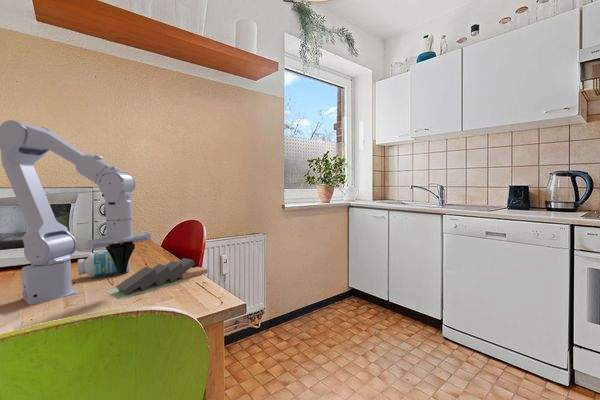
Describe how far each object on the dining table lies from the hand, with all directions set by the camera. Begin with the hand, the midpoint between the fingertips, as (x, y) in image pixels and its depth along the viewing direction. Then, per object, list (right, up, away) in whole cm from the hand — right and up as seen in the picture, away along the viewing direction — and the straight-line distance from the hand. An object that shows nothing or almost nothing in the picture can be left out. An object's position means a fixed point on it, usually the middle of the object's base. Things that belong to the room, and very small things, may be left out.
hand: (121, 272), depth 76 cm
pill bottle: (-10, -1, +22) cm, 24 cm away
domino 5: (+9, -4, +13) cm, 16 cm away
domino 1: (0, -5, 0) cm, 5 cm away
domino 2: (+2, -5, +3) cm, 6 cm away
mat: (+3, -6, +6) cm, 9 cm away
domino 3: (+5, -4, +6) cm, 9 cm away
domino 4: (+7, -4, +9) cm, 12 cm away
